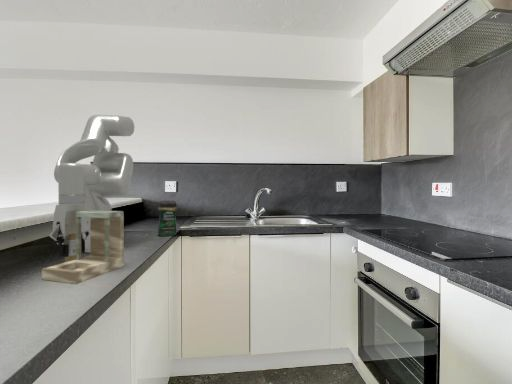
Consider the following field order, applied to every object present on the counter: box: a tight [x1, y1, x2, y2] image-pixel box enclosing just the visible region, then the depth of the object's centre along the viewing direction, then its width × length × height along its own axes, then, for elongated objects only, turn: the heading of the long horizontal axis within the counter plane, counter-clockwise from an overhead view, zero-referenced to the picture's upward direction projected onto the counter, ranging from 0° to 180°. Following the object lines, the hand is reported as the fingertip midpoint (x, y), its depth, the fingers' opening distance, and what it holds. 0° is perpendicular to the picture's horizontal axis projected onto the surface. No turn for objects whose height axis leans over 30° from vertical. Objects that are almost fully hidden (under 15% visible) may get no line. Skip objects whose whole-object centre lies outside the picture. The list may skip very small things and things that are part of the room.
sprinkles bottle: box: [64, 233, 76, 263], centre depth 97 cm, size 5×5×14 cm
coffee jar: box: [157, 200, 178, 237], centre depth 154 cm, size 10×8×19 cm
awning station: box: [41, 210, 125, 285], centre depth 88 cm, size 18×12×18 cm, turn 164°
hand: (72, 253), depth 97 cm, fingers open, 5 cm apart
